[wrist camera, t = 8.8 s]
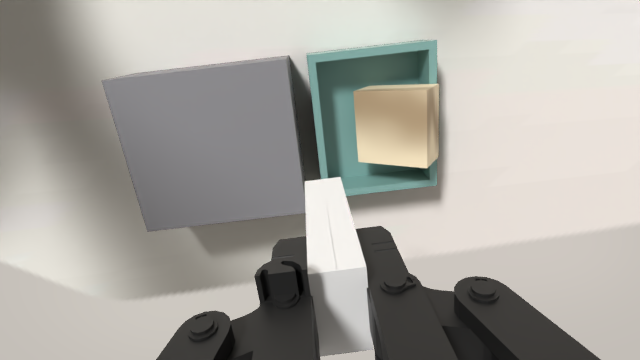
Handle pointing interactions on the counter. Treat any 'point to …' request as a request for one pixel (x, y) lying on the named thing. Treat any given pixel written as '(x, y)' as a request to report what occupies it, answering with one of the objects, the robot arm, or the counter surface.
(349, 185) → the box
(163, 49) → the counter surface
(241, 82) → the gray rectangular block
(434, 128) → the tile
